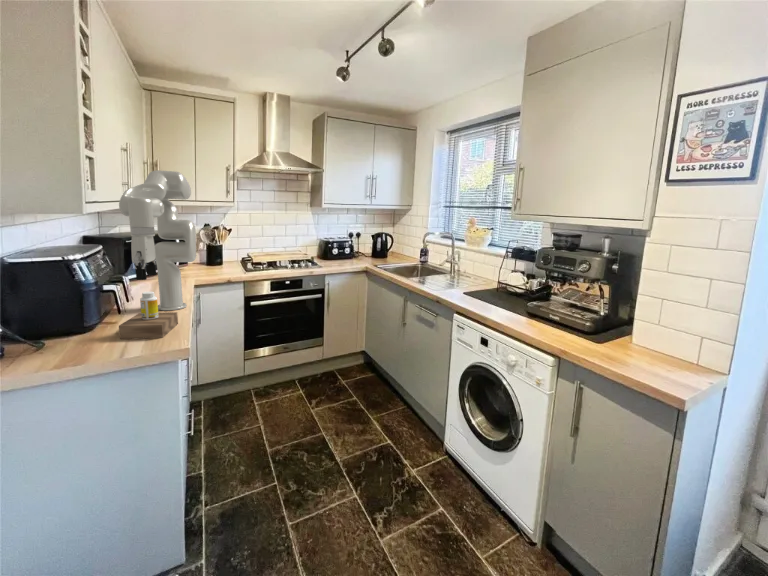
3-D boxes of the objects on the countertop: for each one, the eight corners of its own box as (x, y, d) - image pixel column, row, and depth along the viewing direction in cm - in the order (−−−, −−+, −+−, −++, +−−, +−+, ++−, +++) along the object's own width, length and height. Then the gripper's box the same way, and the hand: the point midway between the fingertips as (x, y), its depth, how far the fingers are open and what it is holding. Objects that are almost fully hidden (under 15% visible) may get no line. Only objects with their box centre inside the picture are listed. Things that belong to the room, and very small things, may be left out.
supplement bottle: (161, 316, 147) (159, 291, 145) (154, 320, 141) (152, 294, 140) (145, 316, 146) (143, 290, 144) (138, 320, 141) (136, 293, 139)
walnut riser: (140, 324, 152) (139, 313, 151) (178, 323, 155) (177, 312, 154) (120, 339, 134) (118, 325, 133) (162, 337, 137) (161, 324, 136)
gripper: (140, 230, 145) (144, 273, 148) (120, 233, 128) (125, 281, 132) (162, 230, 147) (165, 273, 150) (144, 233, 130) (149, 281, 134)
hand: (146, 277), depth 141 cm, fingers open, 9 cm apart
